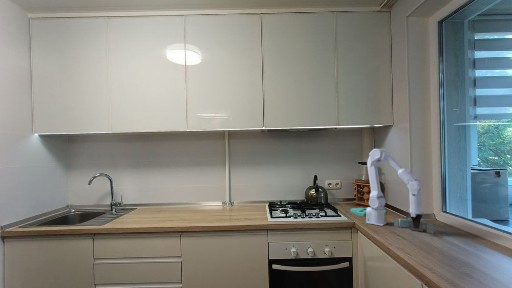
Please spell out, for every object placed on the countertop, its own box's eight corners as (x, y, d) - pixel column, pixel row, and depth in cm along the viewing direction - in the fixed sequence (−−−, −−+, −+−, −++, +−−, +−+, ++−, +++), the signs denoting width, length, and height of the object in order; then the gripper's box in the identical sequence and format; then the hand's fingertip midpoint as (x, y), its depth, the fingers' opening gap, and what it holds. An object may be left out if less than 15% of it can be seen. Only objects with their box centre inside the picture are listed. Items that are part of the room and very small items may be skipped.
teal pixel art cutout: (386, 213, 186) (356, 209, 199) (386, 210, 186) (356, 206, 199) (377, 219, 171) (346, 214, 184) (377, 215, 171) (346, 211, 184)
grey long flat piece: (393, 226, 153) (393, 218, 153) (394, 226, 154) (394, 218, 154) (433, 233, 140) (433, 224, 140) (433, 233, 141) (433, 224, 141)
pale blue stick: (401, 227, 151) (401, 219, 151) (400, 226, 152) (400, 218, 152) (423, 227, 150) (423, 219, 150) (422, 226, 151) (422, 219, 151)
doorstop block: (410, 229, 146) (409, 220, 146) (410, 227, 150) (409, 218, 151) (423, 231, 143) (422, 221, 143) (422, 229, 147) (422, 220, 148)
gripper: (421, 205, 136) (422, 232, 136) (427, 201, 147) (427, 226, 147) (406, 203, 141) (406, 230, 141) (412, 200, 152) (413, 224, 151)
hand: (416, 228), depth 144 cm, fingers closed, pressing on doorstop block
